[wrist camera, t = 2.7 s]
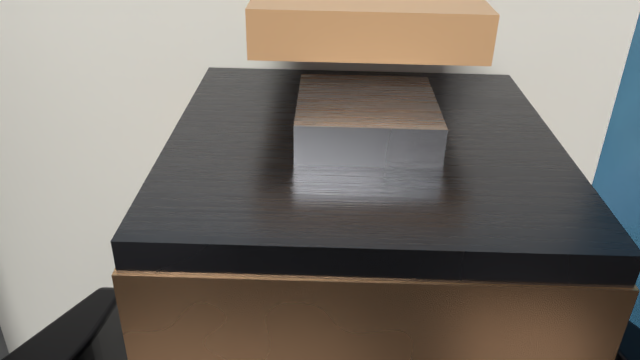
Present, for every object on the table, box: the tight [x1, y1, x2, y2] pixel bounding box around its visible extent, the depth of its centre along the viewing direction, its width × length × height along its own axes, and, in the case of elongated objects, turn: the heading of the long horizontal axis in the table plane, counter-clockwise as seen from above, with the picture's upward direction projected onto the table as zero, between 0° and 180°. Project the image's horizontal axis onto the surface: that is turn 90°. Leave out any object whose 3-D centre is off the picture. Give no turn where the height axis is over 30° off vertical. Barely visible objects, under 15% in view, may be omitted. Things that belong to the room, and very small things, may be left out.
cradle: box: [0, 0, 640, 360], centre depth 10 cm, size 14×18×4 cm
